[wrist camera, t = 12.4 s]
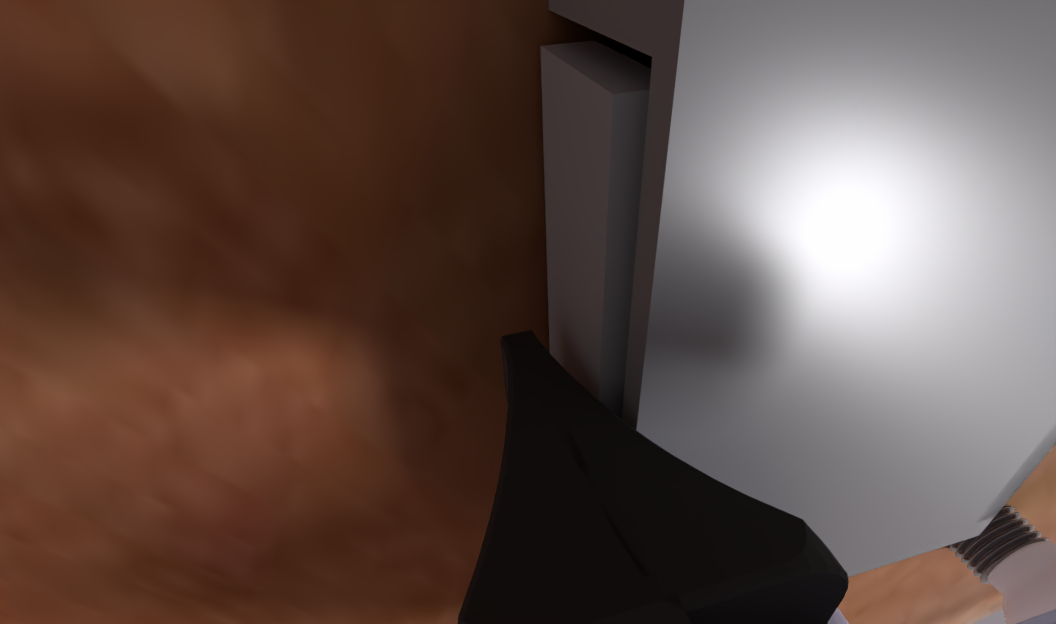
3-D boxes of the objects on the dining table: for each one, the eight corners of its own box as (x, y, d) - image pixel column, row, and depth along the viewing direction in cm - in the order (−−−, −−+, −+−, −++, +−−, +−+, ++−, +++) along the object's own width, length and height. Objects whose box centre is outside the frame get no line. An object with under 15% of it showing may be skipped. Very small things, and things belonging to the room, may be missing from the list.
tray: (553, 485, 17) (590, 588, 14) (540, 45, 9) (612, 94, 7) (854, 408, 19) (935, 487, 16) (1046, -8, 11) (1257, 14, 9)
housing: (558, 502, 18) (615, 664, 14) (547, -60, 9) (706, -44, 5) (864, 422, 20) (987, 544, 16) (1119, -99, 11) (1558, -111, 7)
